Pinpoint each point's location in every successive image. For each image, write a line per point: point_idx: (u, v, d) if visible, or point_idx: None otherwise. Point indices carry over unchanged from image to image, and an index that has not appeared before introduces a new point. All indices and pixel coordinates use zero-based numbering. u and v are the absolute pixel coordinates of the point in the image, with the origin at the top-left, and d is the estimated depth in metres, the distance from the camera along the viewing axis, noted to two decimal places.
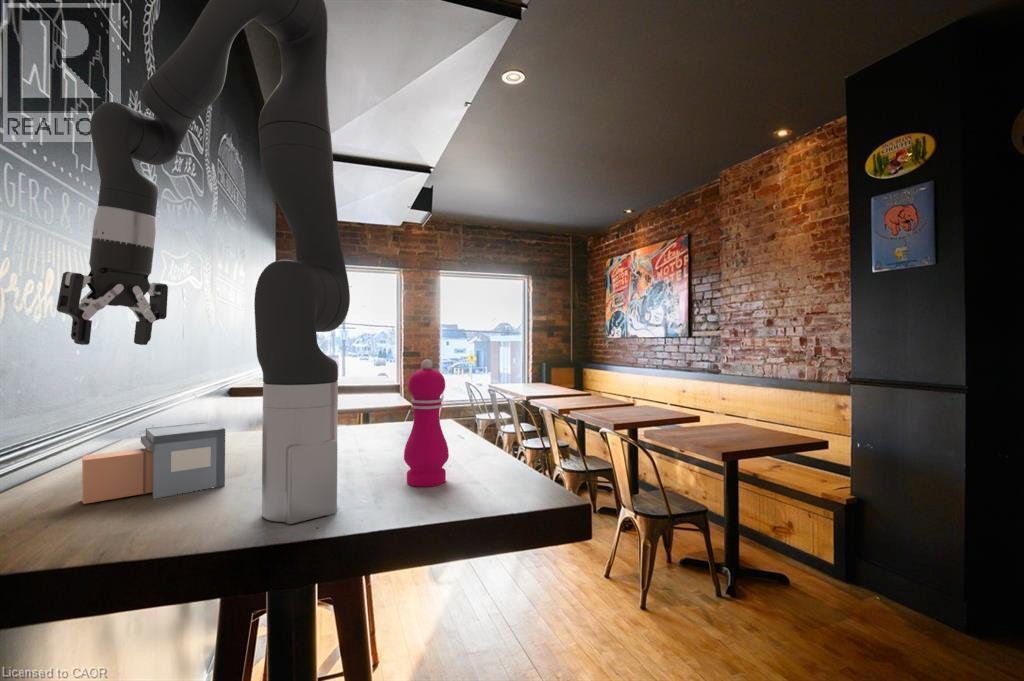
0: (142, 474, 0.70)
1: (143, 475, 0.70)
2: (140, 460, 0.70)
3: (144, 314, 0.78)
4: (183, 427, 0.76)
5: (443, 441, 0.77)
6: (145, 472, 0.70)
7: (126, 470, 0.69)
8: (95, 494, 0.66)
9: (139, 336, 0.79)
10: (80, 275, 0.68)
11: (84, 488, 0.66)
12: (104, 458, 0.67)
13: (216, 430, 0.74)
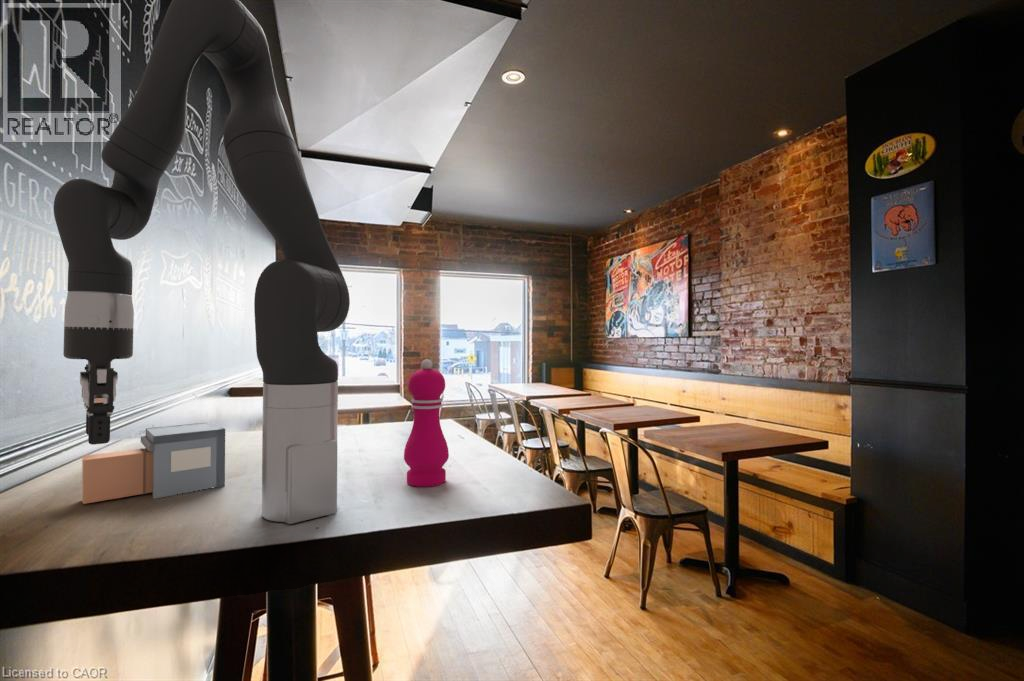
0: (142, 474, 0.70)
1: (143, 475, 0.70)
2: (140, 460, 0.70)
3: None
4: (183, 427, 0.76)
5: (443, 441, 0.77)
6: (145, 472, 0.70)
7: (126, 470, 0.69)
8: (95, 494, 0.66)
9: None
10: (113, 370, 0.65)
11: (84, 488, 0.66)
12: (104, 458, 0.67)
13: (216, 430, 0.74)
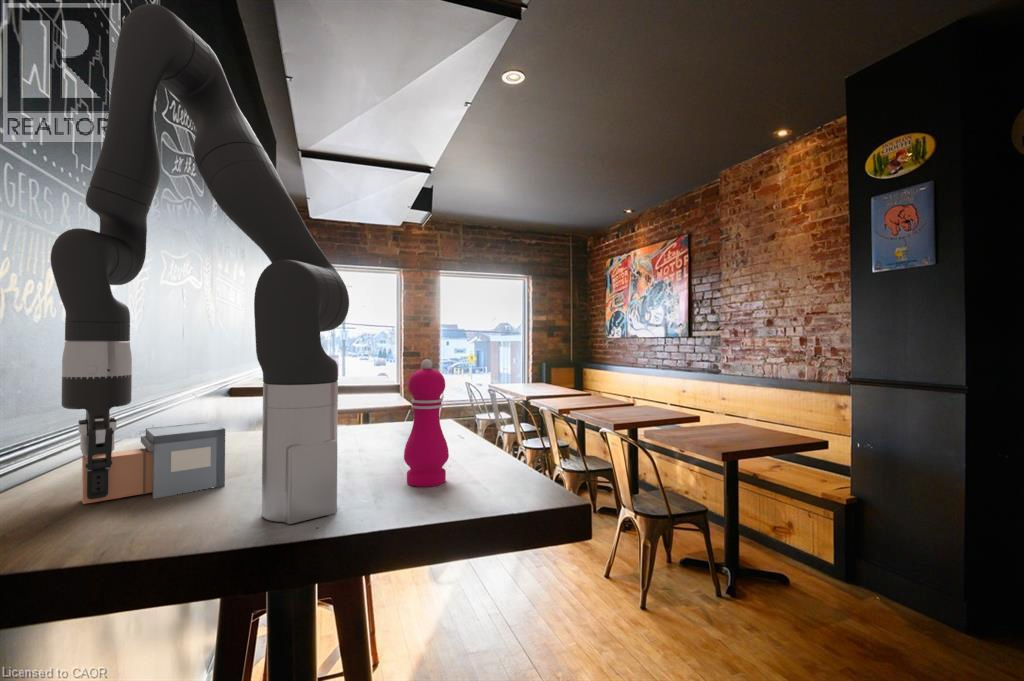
0: (142, 474, 0.70)
1: (143, 475, 0.70)
2: (140, 460, 0.70)
3: None
4: (183, 427, 0.76)
5: (443, 441, 0.77)
6: (145, 472, 0.70)
7: (126, 470, 0.69)
8: None
9: None
10: (112, 429, 0.64)
11: (84, 488, 0.66)
12: (104, 458, 0.67)
13: (216, 430, 0.74)
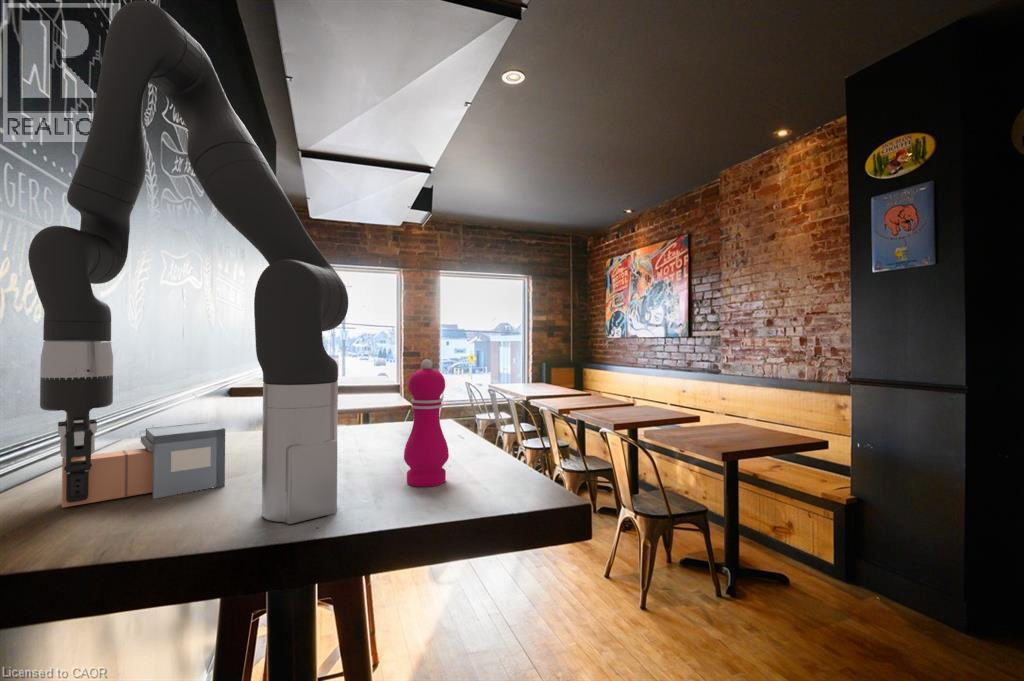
0: (124, 477, 0.69)
1: (125, 478, 0.69)
2: (122, 463, 0.68)
3: None
4: (183, 427, 0.76)
5: (443, 441, 0.77)
6: (127, 475, 0.69)
7: (107, 472, 0.67)
8: None
9: None
10: (91, 431, 0.63)
11: (63, 491, 0.64)
12: (84, 460, 0.66)
13: (216, 430, 0.74)
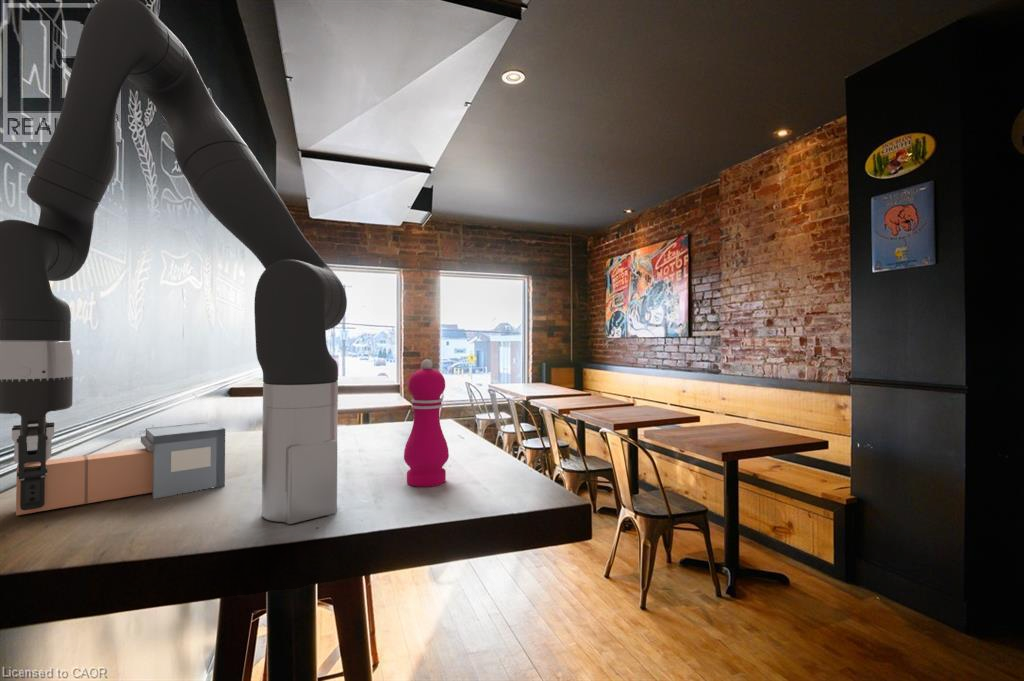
0: (84, 483, 0.66)
1: (85, 484, 0.66)
2: (82, 468, 0.65)
3: None
4: (183, 427, 0.76)
5: (443, 441, 0.77)
6: (87, 480, 0.66)
7: (66, 478, 0.64)
8: None
9: None
10: (46, 435, 0.60)
11: (17, 498, 0.61)
12: (40, 466, 0.63)
13: (216, 430, 0.74)
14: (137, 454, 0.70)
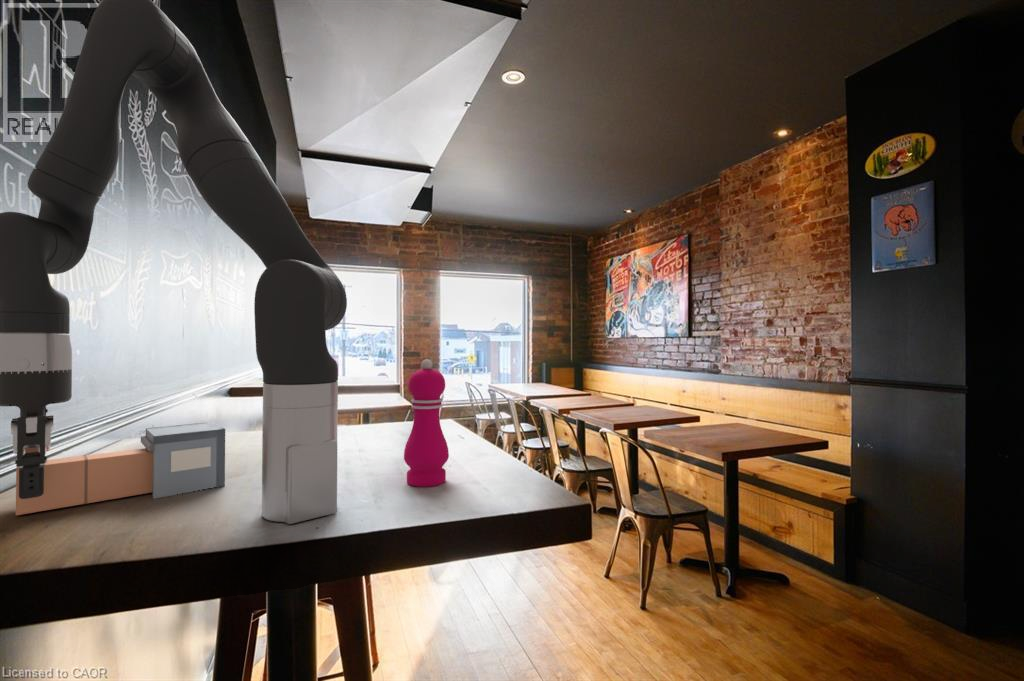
0: (83, 483, 0.66)
1: (84, 484, 0.66)
2: (81, 468, 0.65)
3: None
4: (183, 427, 0.76)
5: (443, 441, 0.77)
6: (87, 480, 0.66)
7: (65, 478, 0.64)
8: (29, 505, 0.62)
9: None
10: (45, 417, 0.60)
11: (17, 498, 0.61)
12: None
13: (216, 430, 0.74)
14: (137, 454, 0.70)
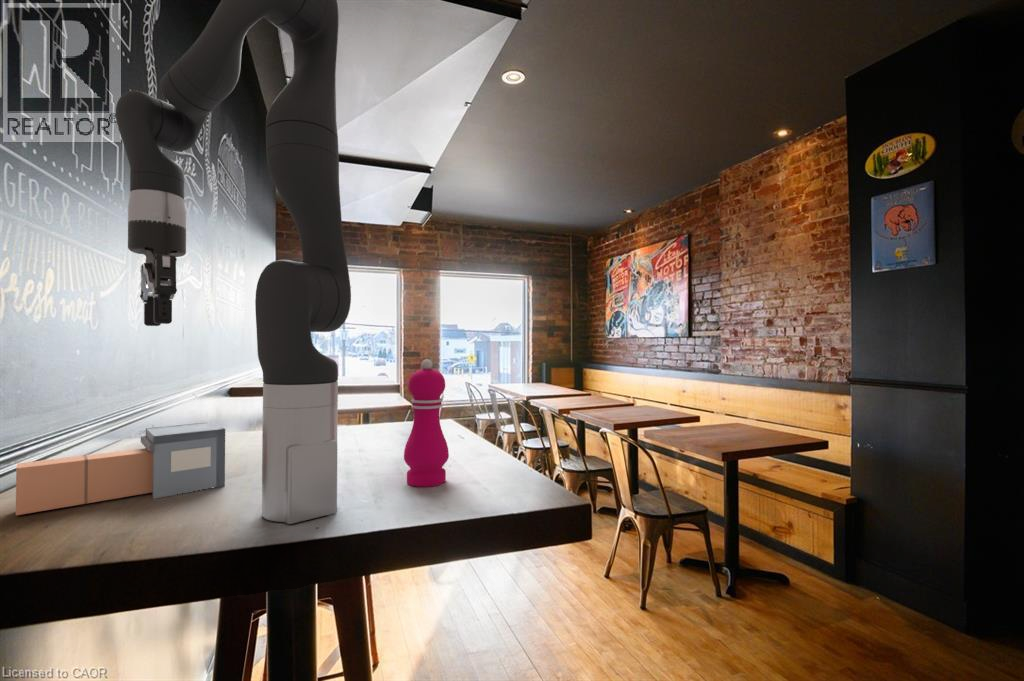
0: (83, 483, 0.66)
1: (84, 484, 0.66)
2: (81, 468, 0.65)
3: None
4: (183, 427, 0.76)
5: (443, 441, 0.77)
6: (87, 480, 0.66)
7: (65, 478, 0.64)
8: (29, 505, 0.62)
9: (153, 317, 0.79)
10: None
11: (17, 498, 0.61)
12: (40, 466, 0.63)
13: (216, 430, 0.74)
14: (137, 454, 0.70)
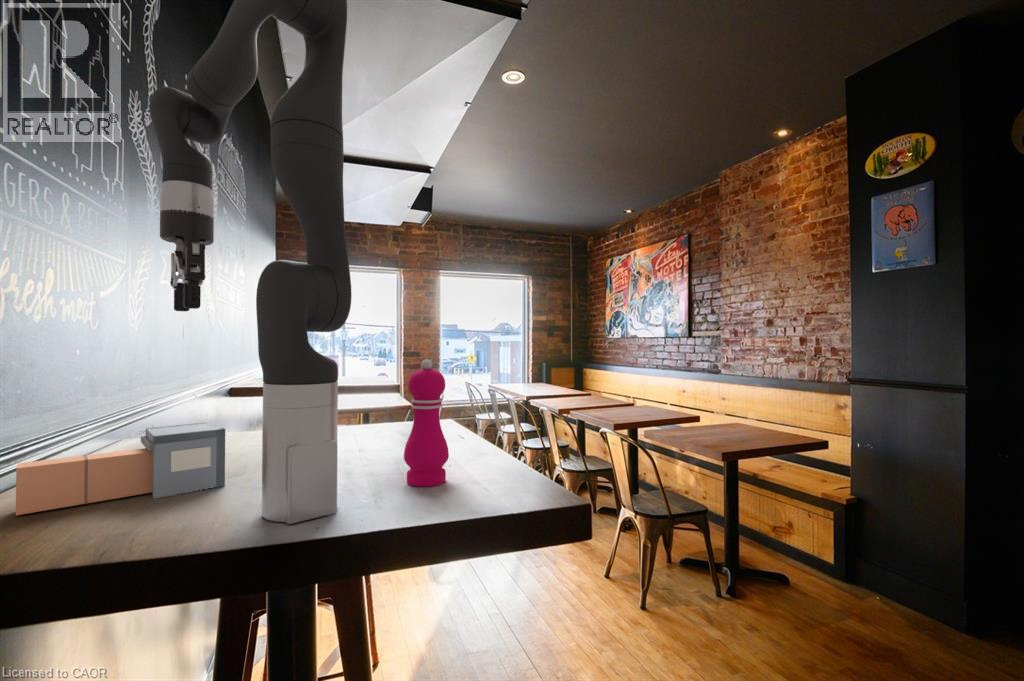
0: (83, 483, 0.66)
1: (84, 484, 0.66)
2: (81, 468, 0.65)
3: None
4: (183, 427, 0.76)
5: (443, 441, 0.77)
6: (87, 480, 0.66)
7: (65, 478, 0.64)
8: (29, 505, 0.62)
9: (182, 303, 0.83)
10: None
11: (17, 498, 0.61)
12: (40, 466, 0.63)
13: (216, 430, 0.74)
14: (137, 454, 0.70)
